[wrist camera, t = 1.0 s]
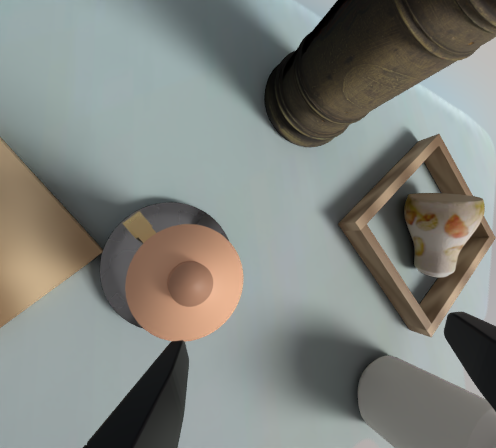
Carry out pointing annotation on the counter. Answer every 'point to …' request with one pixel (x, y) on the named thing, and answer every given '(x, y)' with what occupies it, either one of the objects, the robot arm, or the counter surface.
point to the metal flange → (127, 244)
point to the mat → (34, 238)
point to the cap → (182, 280)
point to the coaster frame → (362, 239)
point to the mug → (441, 228)
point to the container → (369, 61)
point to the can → (422, 408)
